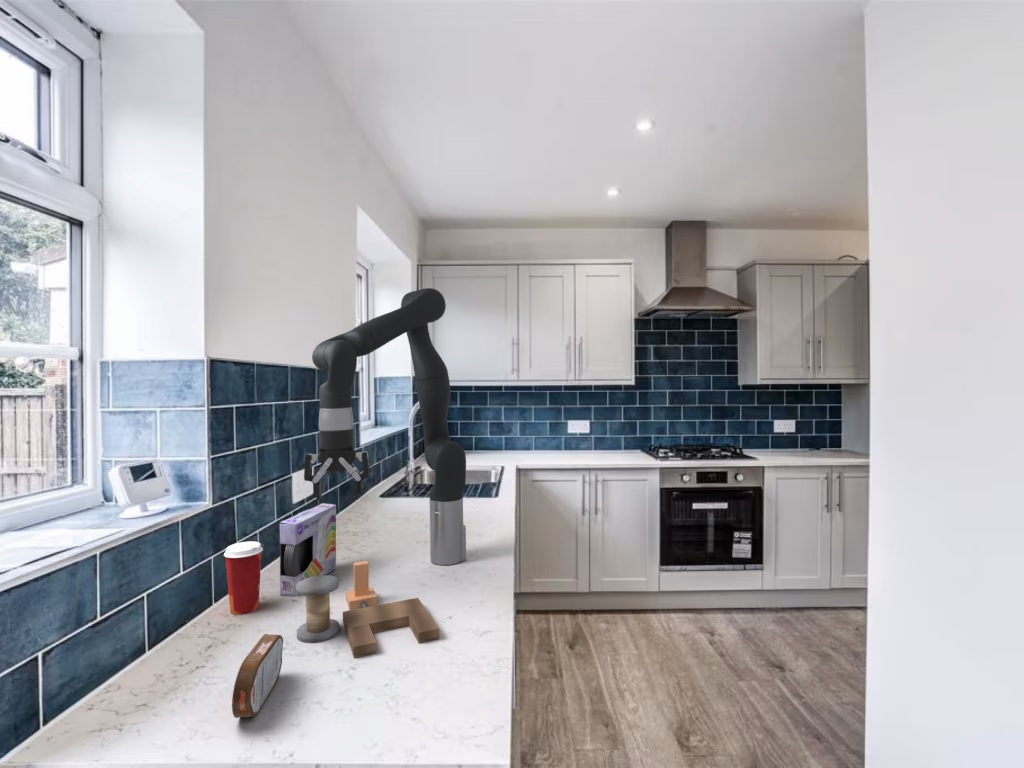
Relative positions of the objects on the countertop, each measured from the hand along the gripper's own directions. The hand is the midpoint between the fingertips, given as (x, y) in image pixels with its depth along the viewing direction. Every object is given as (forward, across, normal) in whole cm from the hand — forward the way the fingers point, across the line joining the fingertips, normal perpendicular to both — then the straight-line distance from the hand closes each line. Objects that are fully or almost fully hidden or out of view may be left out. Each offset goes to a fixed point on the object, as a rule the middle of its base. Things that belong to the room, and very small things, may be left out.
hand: (338, 497), depth 120 cm
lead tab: (+23, -6, +5) cm, 25 cm away
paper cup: (+23, +20, +2) cm, 31 cm away
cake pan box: (+24, +10, -11) cm, 28 cm away
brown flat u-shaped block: (+23, -12, +18) cm, 32 cm away
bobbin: (+23, +2, +16) cm, 28 cm away
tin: (+23, +6, +38) cm, 45 cm away
